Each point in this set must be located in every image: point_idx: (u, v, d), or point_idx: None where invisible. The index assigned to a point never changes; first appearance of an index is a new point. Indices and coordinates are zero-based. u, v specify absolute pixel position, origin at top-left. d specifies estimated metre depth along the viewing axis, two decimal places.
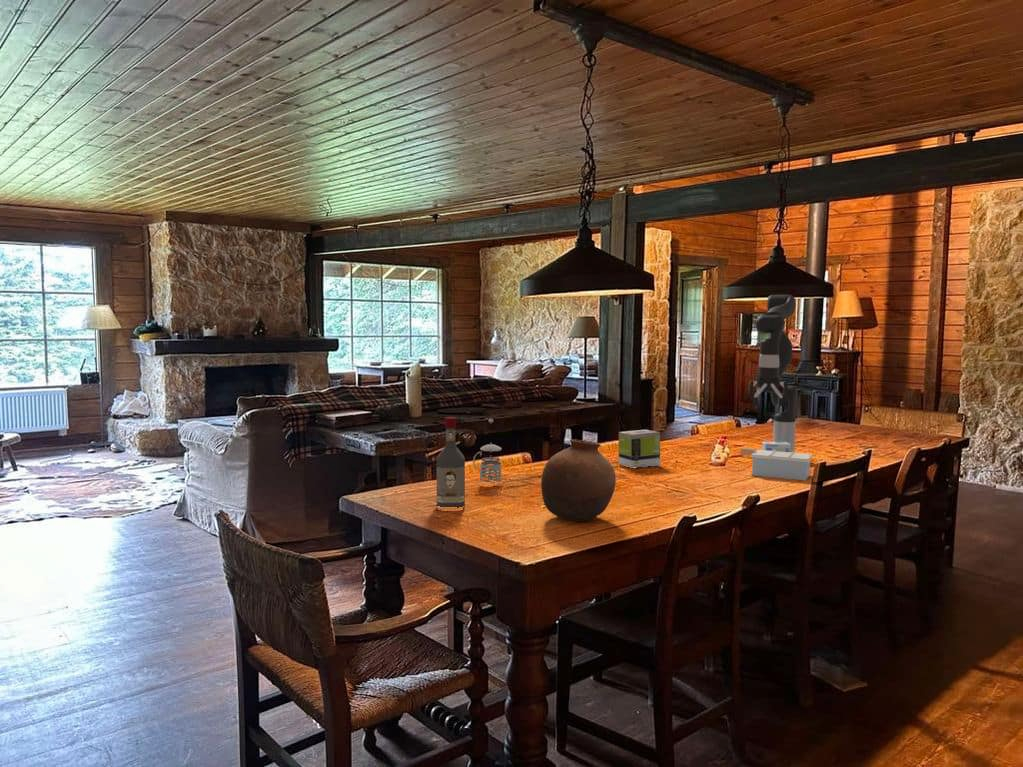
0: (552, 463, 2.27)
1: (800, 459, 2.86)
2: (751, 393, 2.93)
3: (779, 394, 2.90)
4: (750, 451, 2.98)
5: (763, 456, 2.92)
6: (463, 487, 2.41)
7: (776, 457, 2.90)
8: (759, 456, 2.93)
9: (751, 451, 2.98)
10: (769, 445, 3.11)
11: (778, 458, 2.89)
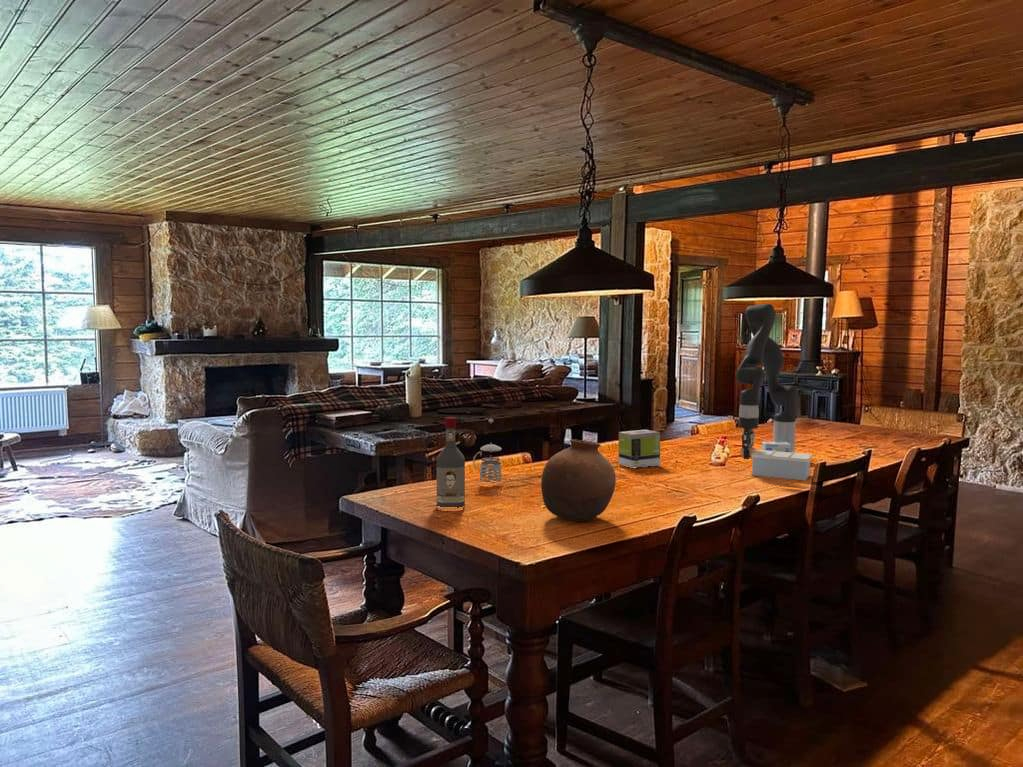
0: (552, 463, 2.27)
1: (800, 459, 2.86)
2: (748, 446, 2.96)
3: (752, 444, 3.02)
4: (750, 451, 2.98)
5: (763, 456, 2.92)
6: (463, 487, 2.41)
7: (776, 457, 2.90)
8: (759, 456, 2.93)
9: (751, 451, 2.98)
10: (769, 445, 3.11)
11: (778, 458, 2.89)
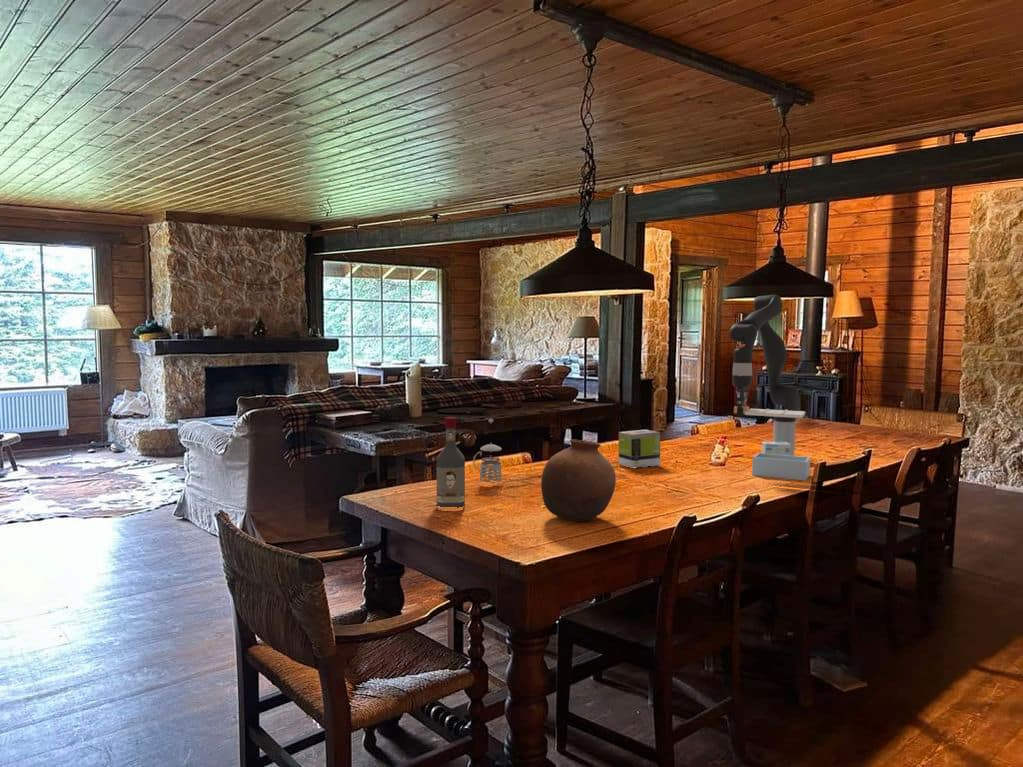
0: (552, 463, 2.27)
1: (793, 415, 2.86)
2: (742, 404, 2.96)
3: (745, 402, 3.02)
4: (744, 409, 2.98)
5: (757, 413, 2.92)
6: (463, 487, 2.41)
7: (769, 414, 2.90)
8: (753, 413, 2.93)
9: (745, 409, 2.98)
10: (769, 445, 3.11)
11: (771, 415, 2.89)
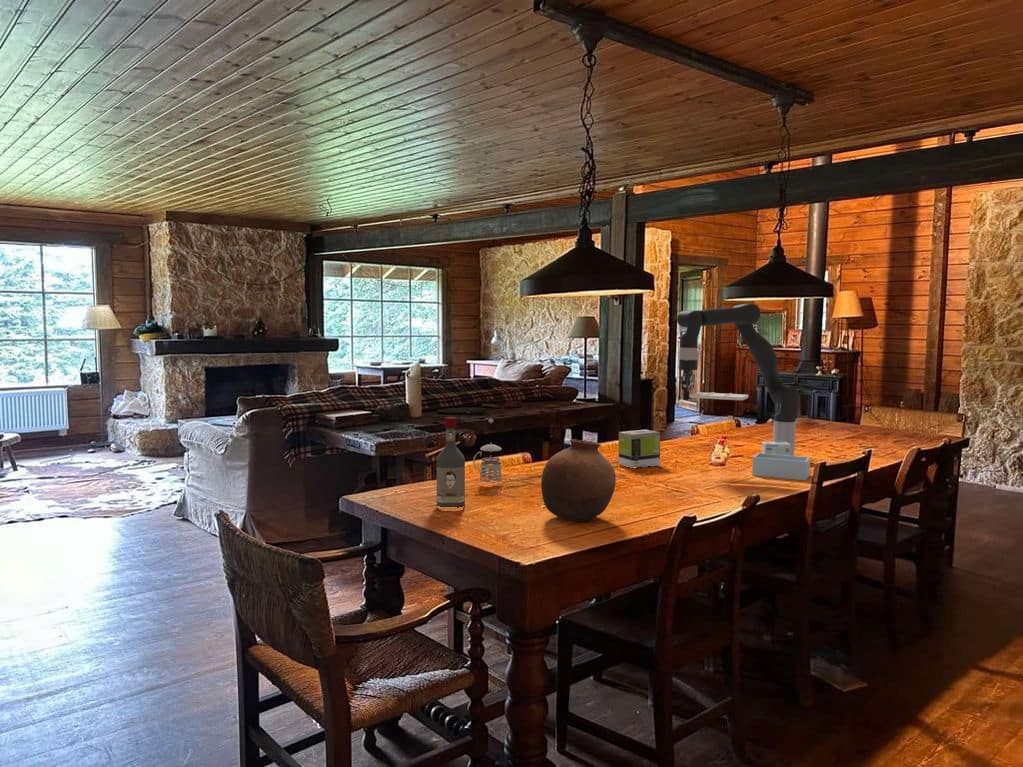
0: (552, 463, 2.27)
1: (735, 398, 2.96)
2: (687, 387, 3.06)
3: (692, 386, 3.12)
4: (689, 392, 3.08)
5: (701, 396, 3.02)
6: (463, 487, 2.41)
7: (713, 396, 3.00)
8: (697, 396, 3.03)
9: (690, 392, 3.08)
10: (769, 445, 3.11)
11: (715, 397, 2.99)
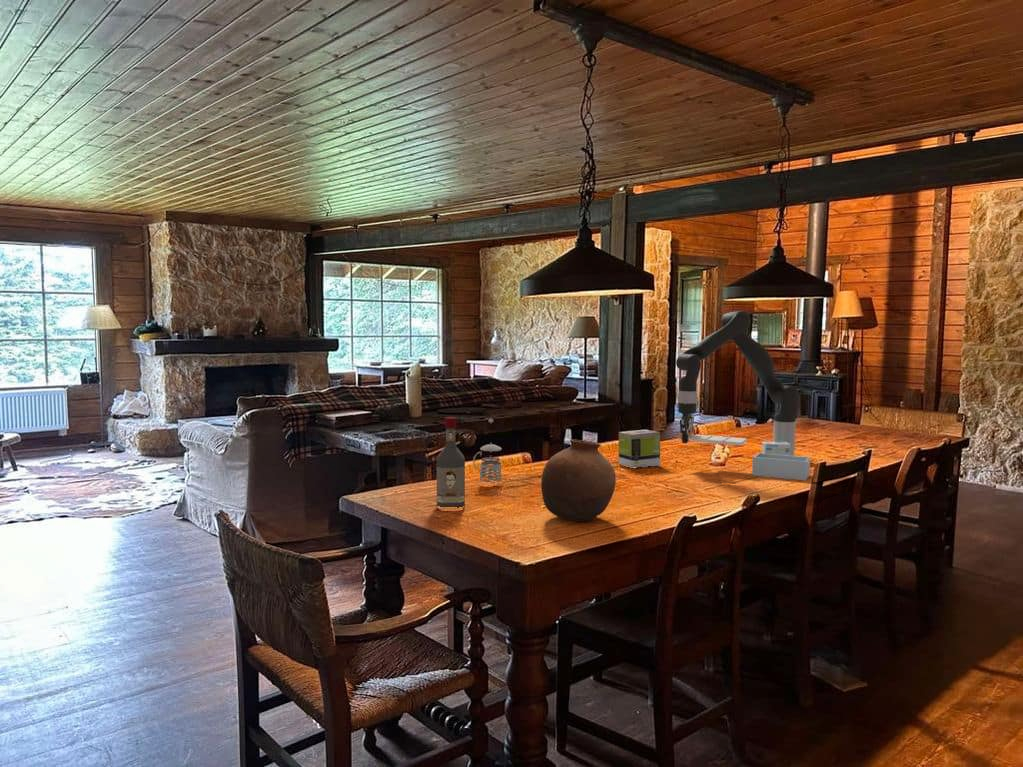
0: (552, 463, 2.27)
1: (734, 443, 2.97)
2: (686, 431, 3.07)
3: (691, 428, 3.14)
4: (688, 435, 3.09)
5: (699, 440, 3.03)
6: (463, 487, 2.41)
7: (711, 441, 3.01)
8: (696, 440, 3.04)
9: (689, 435, 3.09)
10: (769, 445, 3.11)
11: (713, 442, 3.01)
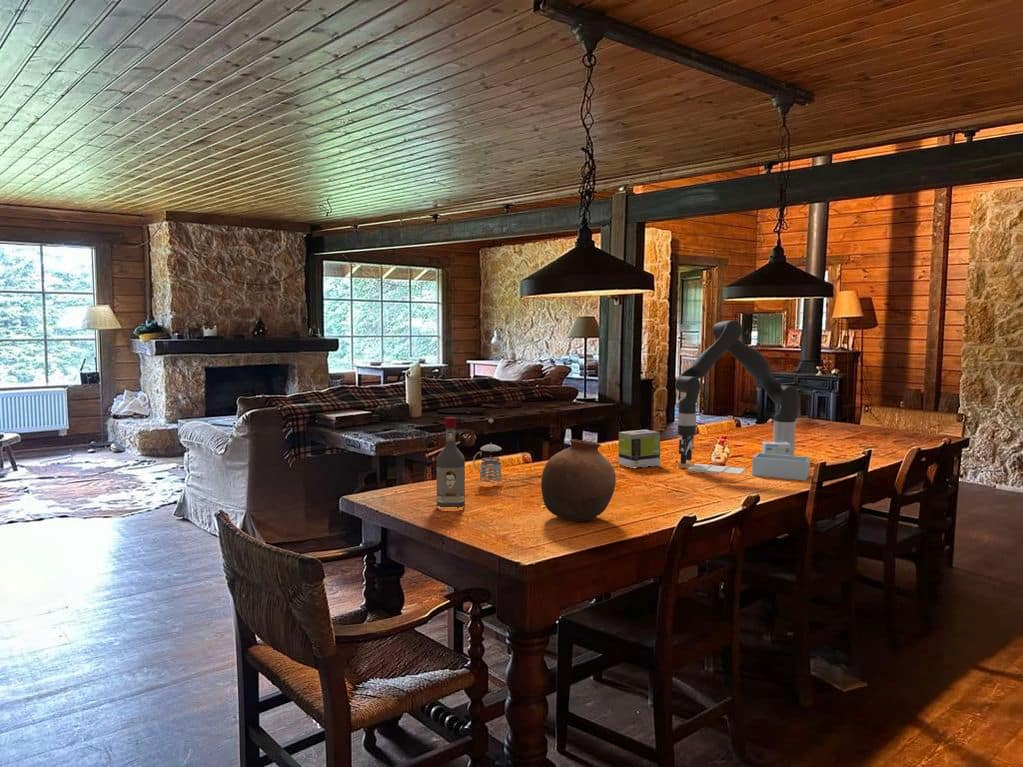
0: (552, 463, 2.27)
1: None
2: (685, 451, 3.06)
3: (691, 448, 3.16)
4: (687, 465, 3.10)
5: (698, 470, 3.05)
6: (463, 487, 2.41)
7: (710, 471, 3.02)
8: (695, 470, 3.05)
9: (688, 465, 3.10)
10: (769, 445, 3.11)
11: (712, 472, 3.02)
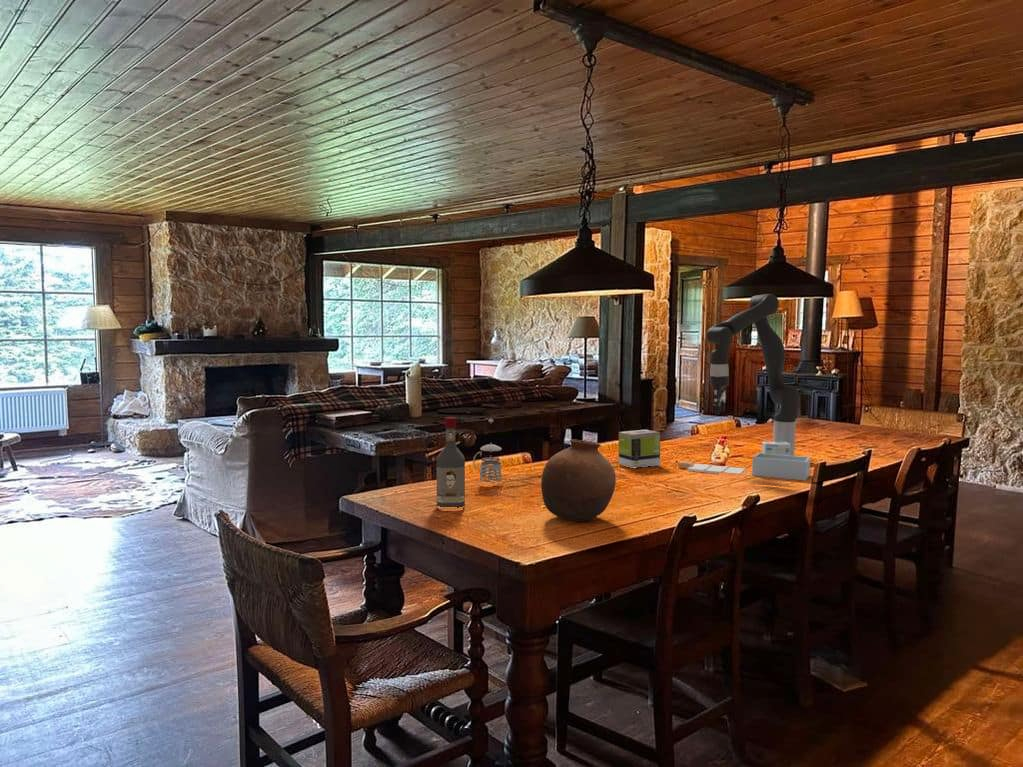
0: (552, 463, 2.27)
1: None
2: (718, 402, 3.06)
3: (724, 399, 3.15)
4: (687, 465, 3.10)
5: (698, 470, 3.05)
6: (463, 487, 2.41)
7: (710, 471, 3.02)
8: (695, 470, 3.05)
9: (688, 465, 3.10)
10: (769, 445, 3.11)
11: (712, 472, 3.02)
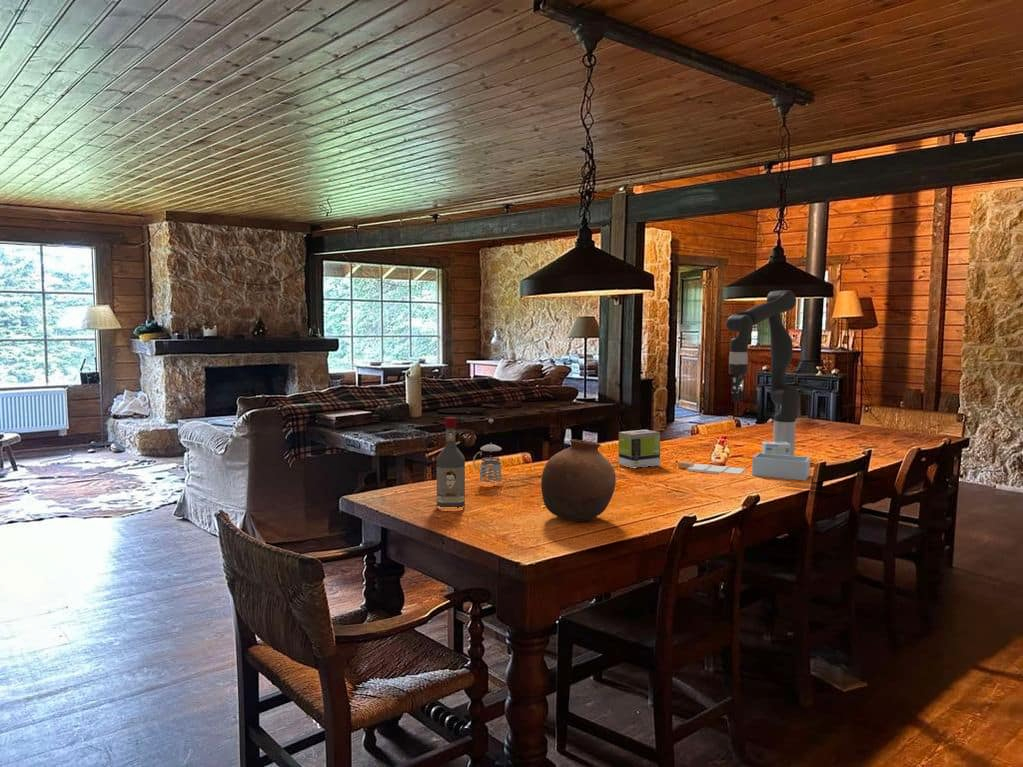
0: (552, 463, 2.27)
1: None
2: (737, 389, 3.06)
3: (742, 388, 3.15)
4: (687, 465, 3.10)
5: (698, 470, 3.05)
6: (463, 487, 2.41)
7: (710, 471, 3.02)
8: (694, 470, 3.05)
9: (688, 465, 3.10)
10: (769, 445, 3.11)
11: (712, 472, 3.02)
